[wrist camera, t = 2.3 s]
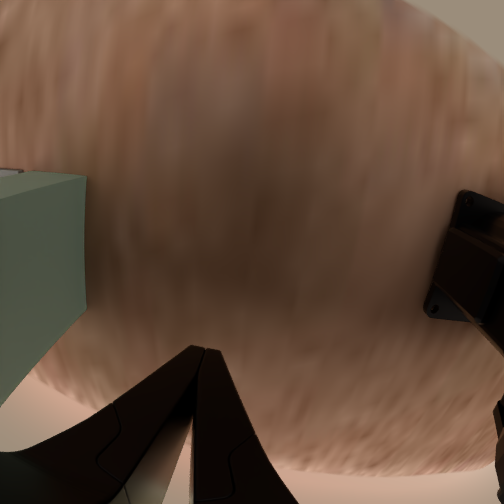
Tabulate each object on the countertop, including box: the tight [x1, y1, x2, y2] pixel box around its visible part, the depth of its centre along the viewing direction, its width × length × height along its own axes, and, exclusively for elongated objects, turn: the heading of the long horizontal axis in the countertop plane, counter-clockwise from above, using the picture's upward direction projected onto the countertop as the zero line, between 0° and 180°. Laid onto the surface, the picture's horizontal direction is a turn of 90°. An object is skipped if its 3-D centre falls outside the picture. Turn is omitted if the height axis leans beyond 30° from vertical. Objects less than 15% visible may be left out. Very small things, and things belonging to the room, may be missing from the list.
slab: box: [0, 171, 87, 407], centre depth 10 cm, size 4×7×9 cm, turn 170°
